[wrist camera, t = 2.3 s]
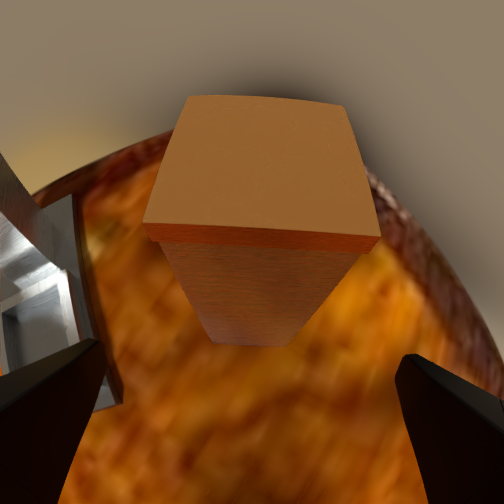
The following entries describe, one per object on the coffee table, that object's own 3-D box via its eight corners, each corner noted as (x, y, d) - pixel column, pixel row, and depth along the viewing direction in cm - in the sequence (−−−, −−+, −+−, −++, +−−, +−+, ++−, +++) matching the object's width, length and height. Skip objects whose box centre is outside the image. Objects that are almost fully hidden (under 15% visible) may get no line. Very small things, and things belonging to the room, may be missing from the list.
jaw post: (286, 348, 19) (381, 236, 6) (211, 344, 19) (141, 222, 6) (286, 279, 21) (343, 106, 8) (217, 276, 21) (188, 96, 8)
